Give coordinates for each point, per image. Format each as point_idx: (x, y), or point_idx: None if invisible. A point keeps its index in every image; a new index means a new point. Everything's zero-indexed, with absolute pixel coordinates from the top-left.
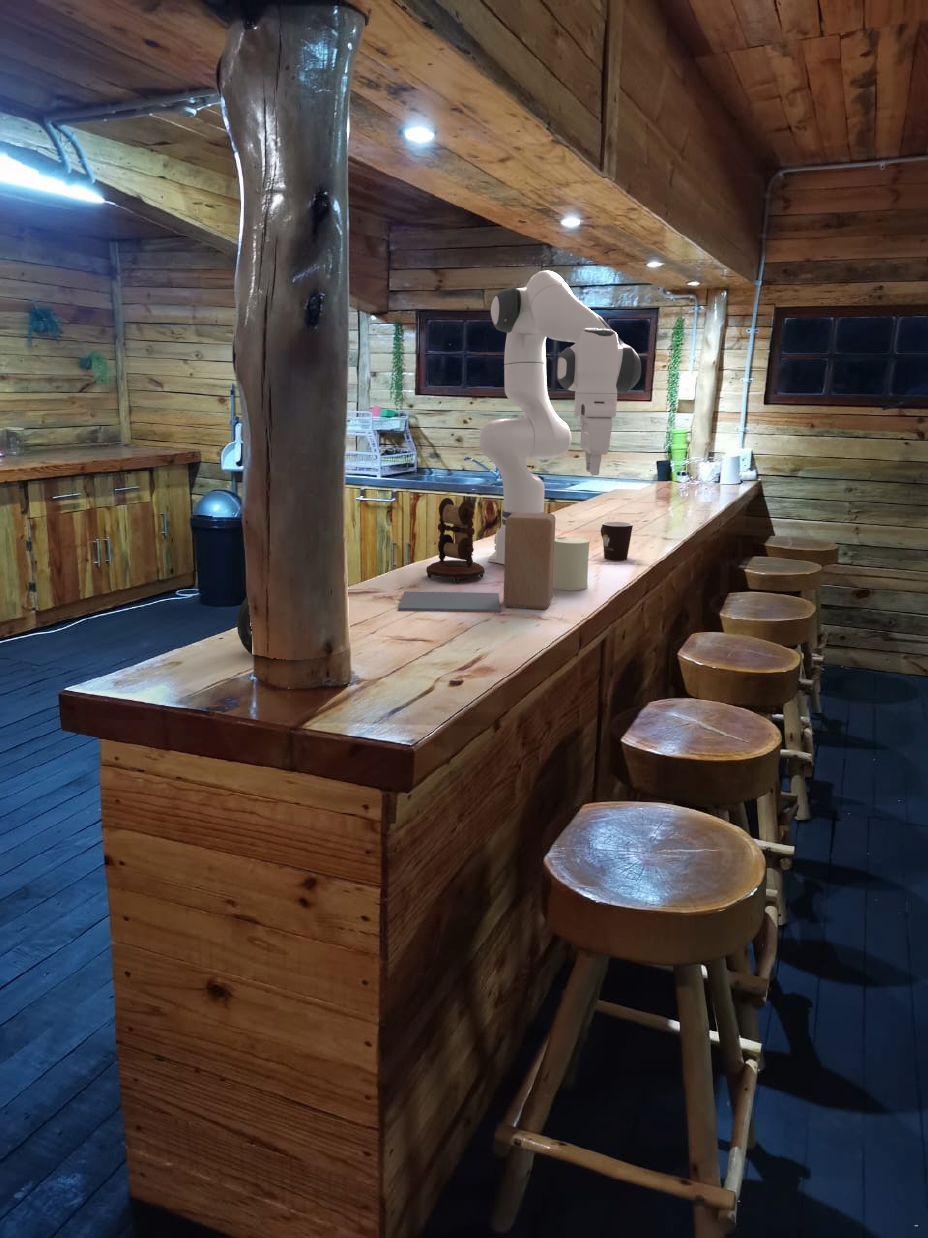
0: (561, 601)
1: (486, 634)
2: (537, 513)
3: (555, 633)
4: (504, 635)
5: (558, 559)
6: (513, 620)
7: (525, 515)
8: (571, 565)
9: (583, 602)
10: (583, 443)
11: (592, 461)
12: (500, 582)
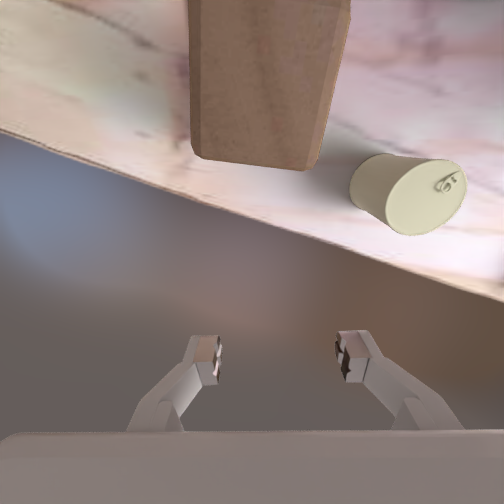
0: (281, 170)
1: (65, 51)
2: (310, 110)
3: (114, 159)
4: (73, 83)
5: (384, 171)
6: (157, 94)
7: (255, 61)
8: (366, 193)
9: (278, 200)
10: (432, 493)
11: (156, 390)
12: (428, 50)
